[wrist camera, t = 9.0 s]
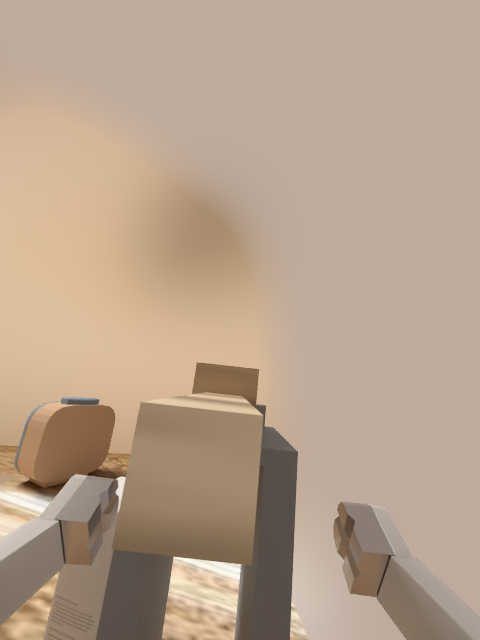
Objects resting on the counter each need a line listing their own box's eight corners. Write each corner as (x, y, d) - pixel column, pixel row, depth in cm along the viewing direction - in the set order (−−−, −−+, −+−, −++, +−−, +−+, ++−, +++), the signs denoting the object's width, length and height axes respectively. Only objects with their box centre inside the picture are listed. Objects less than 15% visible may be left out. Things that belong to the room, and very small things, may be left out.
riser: (262, 1270, 9) (299, 417, 16) (-22, 1233, 9) (143, 399, 16) (247, 809, 18) (274, 406, 26) (111, 793, 19) (177, 395, 26)
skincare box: (94, 608, 33) (121, 474, 37) (138, 625, 31) (162, 483, 35) (30, 675, 25) (73, 495, 29) (85, 702, 24) (123, 508, 28)
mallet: (307, 571, 5) (314, 326, 6) (56, 542, 5) (115, 305, 6) (248, 426, 24) (253, 373, 26) (197, 420, 24) (204, 367, 26)
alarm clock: (84, 466, 82) (100, 397, 87) (103, 474, 78) (119, 400, 83) (5, 484, 64) (33, 395, 70) (25, 494, 60) (52, 399, 66)
